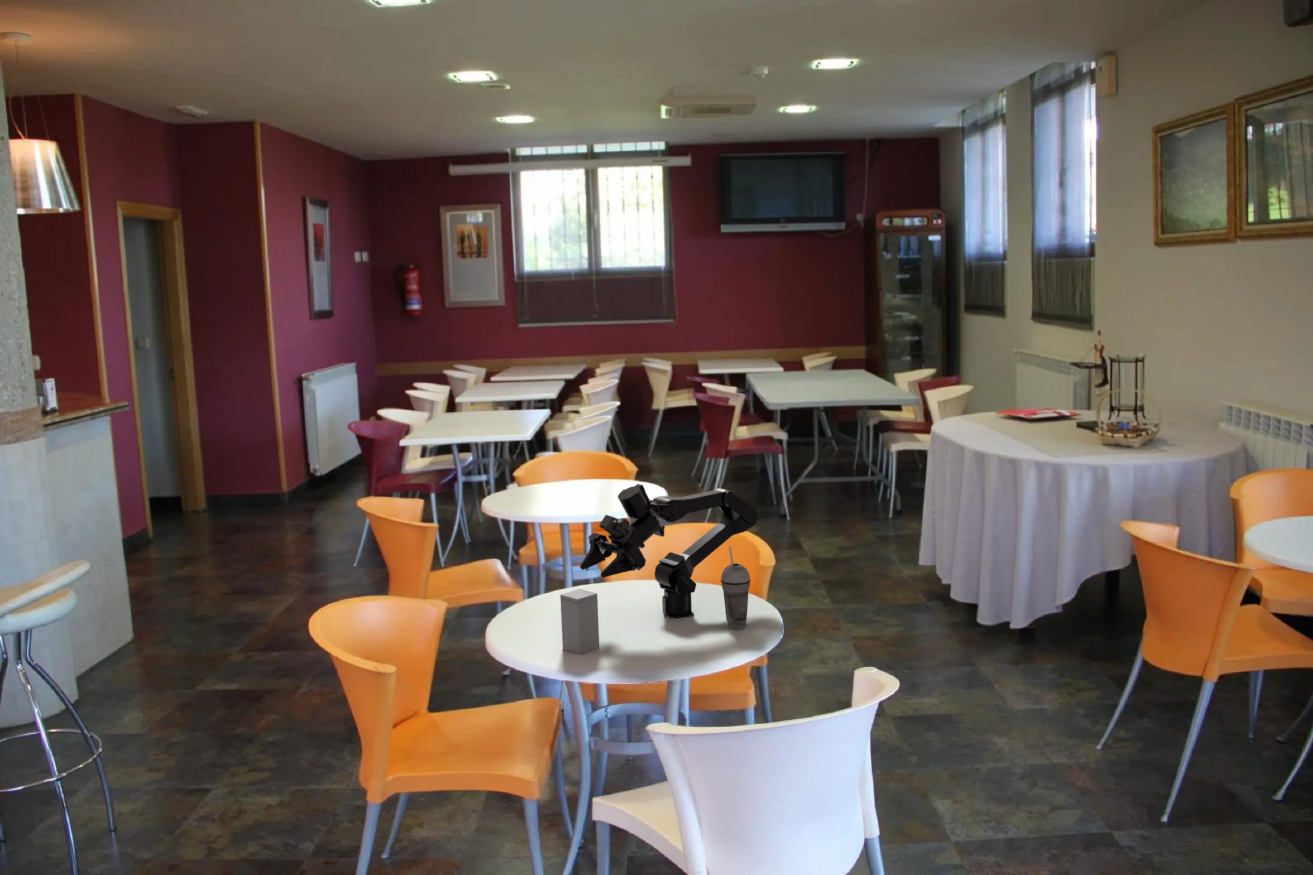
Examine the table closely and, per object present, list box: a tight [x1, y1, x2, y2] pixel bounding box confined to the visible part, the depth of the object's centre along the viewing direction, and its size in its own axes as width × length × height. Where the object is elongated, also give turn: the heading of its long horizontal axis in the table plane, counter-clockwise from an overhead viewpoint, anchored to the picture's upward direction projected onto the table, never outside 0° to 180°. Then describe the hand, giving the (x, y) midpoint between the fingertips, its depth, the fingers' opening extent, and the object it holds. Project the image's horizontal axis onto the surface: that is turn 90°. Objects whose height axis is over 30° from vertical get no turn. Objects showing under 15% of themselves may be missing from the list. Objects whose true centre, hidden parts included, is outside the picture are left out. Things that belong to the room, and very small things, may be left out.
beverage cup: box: [720, 545, 751, 630], centre depth 261 cm, size 7×7×20 cm
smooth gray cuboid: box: [559, 588, 600, 655], centre depth 250 cm, size 6×6×13 cm
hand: (591, 572), depth 257 cm, fingers open, 9 cm apart
